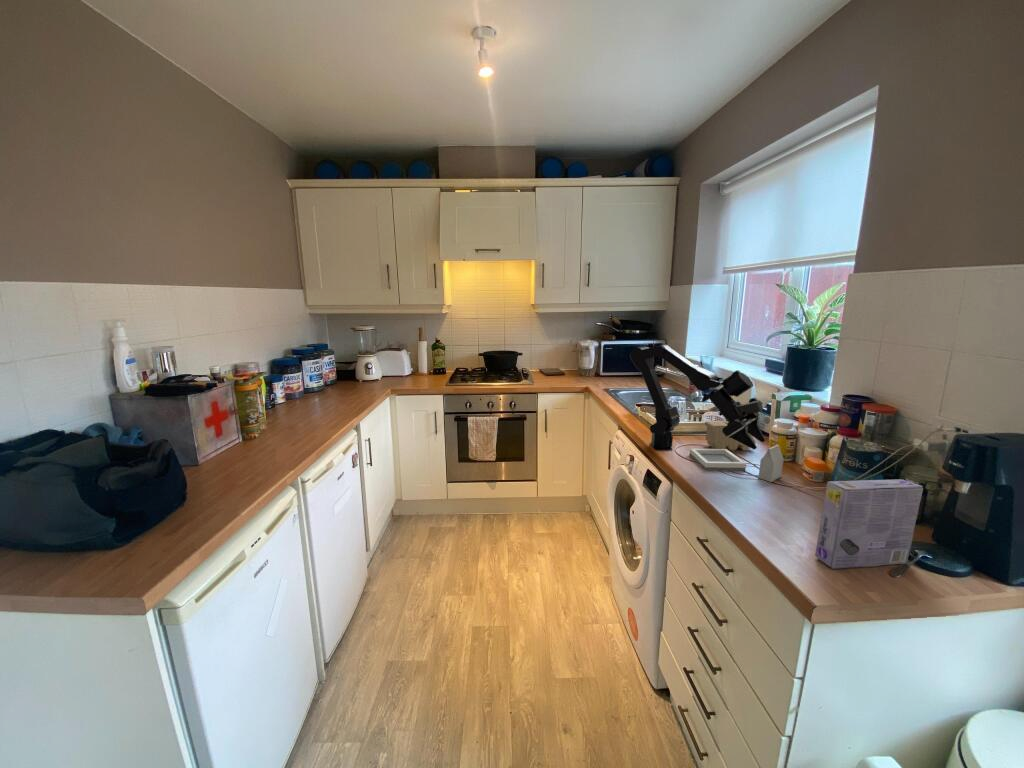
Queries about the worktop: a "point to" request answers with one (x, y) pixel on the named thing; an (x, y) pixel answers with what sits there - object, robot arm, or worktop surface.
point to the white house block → (771, 464)
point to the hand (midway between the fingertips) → (759, 445)
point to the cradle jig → (717, 459)
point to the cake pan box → (867, 522)
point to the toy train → (722, 437)
